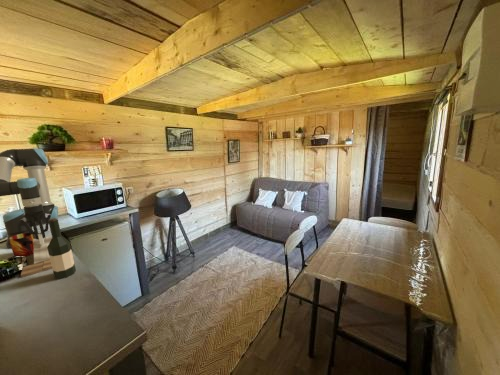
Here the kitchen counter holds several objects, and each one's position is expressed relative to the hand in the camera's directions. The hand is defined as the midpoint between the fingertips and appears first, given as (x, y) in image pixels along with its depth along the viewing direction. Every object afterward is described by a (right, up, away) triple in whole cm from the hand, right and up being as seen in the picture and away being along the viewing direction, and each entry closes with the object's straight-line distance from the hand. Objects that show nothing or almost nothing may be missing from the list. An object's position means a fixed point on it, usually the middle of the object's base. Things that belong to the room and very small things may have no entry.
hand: (42, 243), depth 124 cm
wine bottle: (+28, -12, -16) cm, 34 cm away
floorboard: (+10, -10, -9) cm, 17 cm away
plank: (+1, -4, 0) cm, 4 cm away
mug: (-14, -8, +6) cm, 18 cm away
